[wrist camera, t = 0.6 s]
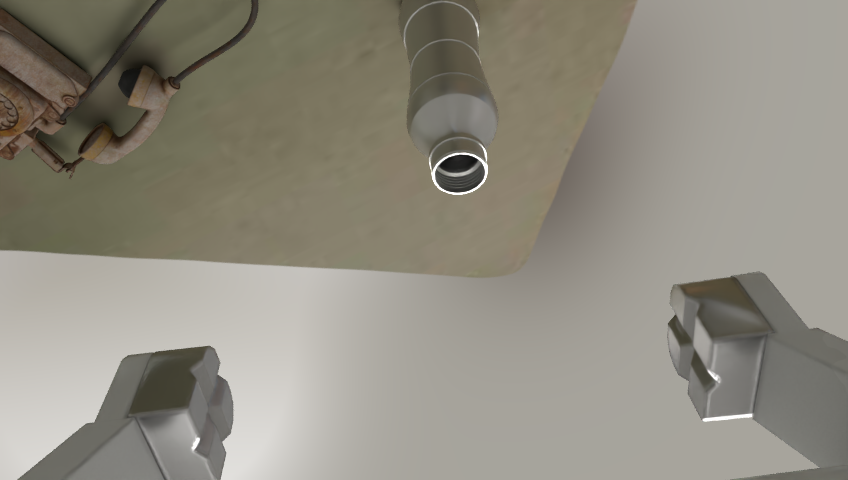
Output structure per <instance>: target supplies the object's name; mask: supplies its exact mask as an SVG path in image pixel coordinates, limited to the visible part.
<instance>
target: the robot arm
mask: <svg viewBox="0 0 848 480" xmlns="http://www.w3.org/2000/svg"><path fill="white" fill-rule="evenodd" d="M670 305H671V307H672V308H673V310H674V312H675V314H676V315H675V316H674V317H673V318H672V319H671V320H670V322H669V323H668V345H669V352H670V356H671V359H672V362H673V365H674V367H675V369H676V371H677V373H678V375H680V376H681V377H683V378H684V379H686V380H688V381H689V386H688V395H689V397H690V399H691V401H692V403H693V404H694V406H695V408H696V410H697V412H698V414H699V416H700V418H701V420H702V421H703V422H705V421H714V420H725V419H734V418H744V417H753V419H754V420H755V421H756V422H758V423H759V424H760V425H762V426H763V427H765V428H766V429H767V430H769V431H770V432H771V433H773V434H774V435H776V436H777V437H778V438H780V439H781V440H783V441H784V442H785V443H787V444H788V445H790V446H791V447H792V448H794V449H795V450H796V451H798V452H799V453H800V454H802V455H803V456H805V457H806V458H807V459H809V460H810V461H811V462H813V463H814V464H816V465H817V466H818V467H820V468H817V469H809V470H801V471H793V472H785V473H778V474H770V475H762V476H755V477H747V478H740V479H732V480H848V341H845V340H843V339H841V338H839V337H836V336H834V335H832V334H830V333H828V332H825V331H823V330H821V329H819V328H813V329H809V328H808V327H807V326H806V325H805V323H804V322H803V321H802V320H801V318H800V317H799V316H798V315H797V313H796V312H795V311H794V310H793V309H792V307H791V306H790V305H789V303H788V302H787V301H786V300H785V298H784V297H783V296H782V295H781V293H780V292H779V291H778V290H777V289H776V287H775V286H774V285H773V283H772V282H771V281H770V280H769V279H768V277H767V276H766V275H765V274H764V273H762V272H753V273H747V274H740V275H734V276H731V277H726V278H719V279H711V280H704V281H697V282H689V283H682V284H675V285H673V287H672V290H671V295H670ZM219 366H220V361H219V358H218V356H217V353H216V351H215V349H214V348H212V347H211V346H204V347H195V348H186V349H177V350H167V351H158V352H155V353H144V354H136V355H128V356H127V357H125V358H124V359H123V360H122V361H121V363H120V365H119V368H118V370H117V372H116V375H115V377H114V379H113V381H112V384H111V386H110V388H109V390H108V393H107V395H106V397H105V400H104V402H103V404H102V406H101V409H100V411H99V413H98V415H97V418H96V420H95V422H94V423H87V424H85V425H84V426H83V427H81V428H80V429H79V430H78V431H76V432H75V433H74V434H73V435H72V436H70V437H69V438H68V439H67V440H65V441H64V442H63V443H62V444H61V445H59V446H58V447H57V448H56V449H54V450H53V451H52V452H51V453H50V454H48V455H47V456H46V457H45V458H43V459H42V460H41V461H40V462H38V463H37V464H36V465H35V466H34V467H32V468H31V469H30V470H29V471H28V472H26V473H25V474H24V475H23V476H21V477H20V478H19V479H18V480H220V479H221V475H222V469H223V466H224V461H225V457H226V451H225V449H224V446H223V443H222V441H223V440H225V438H226V437H227V436H228V435H229V434H230V433H231V429H232V424H233V400H232V395H231V391H230V388H229V385H228V382H227V381H226V380H225V379H223V378H222V377H220V376H219V375H217V374H218V370H219Z"/></svg>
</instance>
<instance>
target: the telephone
mask: <svg viewBox="0 0 848 480" xmlns="http://www.w3.org/2000/svg"><path fill="white" fill-rule="evenodd" d="M165 1H166V0H157V1H156V2H155V3H154V4H153V5H152V6H151V8H150V9H149V10H148V11H147V12H146V14H145V15H144V16H143V17H142V19H141V20H140V21H139V23H138V24H137V25H136V26H135V28H134V29H133V30H132V32H131V33H130V34H129V36H128V37H127V38H126V40H125V41H124V42H123V44H122V45H121V46H120V47H119V49H118V50H117V51H116V53H115V54H114V55H113V57H112V58H111V59H110V60H109V62H108V63H107V64H106V66H105V67H104V68H103V69H102V70H101V72H100V73H99V74H98V75H97V76H96V78H95V79H94V80H93V81H92V82H91V83H90V81H91V79H92V77H91V76H90V75H89V74H87V73H86V72H85V71H83V70H82V69H81V68H79V67H78V66H77V65H75V64H74V63H73V62H71V61H70V60H69V59H68V58H66V57H65V56H64V55H62V54H61V53H60V52H58V51H57V50H56V49H54V48H53V47H52V46H50V45H49V44H48V43H47V42H45V41H44V40H43V39H41V38H40V37H39V36H37V35H36V34H35V33H33V32H32V31H31V30H29V29H28V28H27V27H26V26H24V25H23V24H22V23H20V22H19V21H18V20H16V19H15V18H14V17H12V16H11V15H10V14H8V13H7V12H6V11H4V10H3V9H1V8H0V156H1V157H3V158H5V159H7V160H12V159H13V158H14V157H15V156H16V155H17V154H18V153H20V152H21V151H22V150H23V149H24V148H25V147H27V146H30V147H31V148H32V151H33V152H34V153H35V154H36V155H37V156H39V157H40V158H41V159H42V160H43V161H44V162H45V163H46V164H47V165H49V166H50V167H51V168H52V169H53V170H54V171H55V172H57V173H59V172H61V171H63V170H64V169H67V170H66V172H69V171H72V173H71V175H70V177H69V179H71V177H72V175H73V173H74V171H75V166H76V165H77V164H79V163H80V162H81V161H82V160H84V159H87V160H89V161H93V162H96V163H100V164H112V163H115V162H116V161H118V160H119V159H120V158H122V157H123V156H125V155H126V154H128V153H129V152H131V151H133V150H134V149H135V148H137V147H138V146H139V145H140V144H142V143H143V142H144V141H145V140H146V139H147V138H148V137H149V136H150V135H151V134H152V132H153V131H154V130H155V128H156V127H157V126H158V124H159V123H160V121H161V120H162V118H163V116H164V114H165V112H166V110H167V107H168V104H169V101H170V98H171V96H172V95H173V94H174V93H176V92H177V91H178V90H179V88H180V83H179V82H180V81H181V80H183V79H184V78H185V77H186V76H187V75H189V74H190V73H192V72H193V71H195V70H196V69H197V68H199V67H201V66H202V65H204V64H205V63H207V62H209V61H210V60H212V59H214V58H215V57H217V56H219V55H220V54H222V53H224V52H225V51H227V50H228V49H230V48H231V47H233V46H234V45H235V44H237V43H238V42H239V41H240V40H241V39H242V38H244V37H245V36H246V34H247V33H248V32H249V31H250V29H251V28H252V26H253V25H254V23H255V20H256V18H257V13H258V0H251V1H252V9H251V14H250V17H249V19H248V22H247V23H246V25H245V27H244V28H243V29H242V30H241V31H240V32H239V33H238V34H237V35H236V36H235V37H234V38H233V39H231V40H230V41H229V42H227V43H226V44H224V45H223V46H221V47H219V48H218V49H216V50H215V51H213V52H211V53H210V54H208V55H206V56H205V57H203V58H201V59H200V60H198V61H197V62H195V63H194V64H192V65H191V66H189V67H188V68H186V69H185V70H184V71H182V72H181V73H180V74H179V75H178V76H177V77H172V76H171V77H168V78H167V79H166V80H165V79H163V78H162V77H161V76H160V75H159V74H157V73H156V72H155V71H154V70H153V69H151V68H149V67H148V66H146V65H143V67H142V69H129V70H126V71H124V72H123V73H122V75H121V78H120V80H119V83H118V85H119V88H120V89H121V91H122V92H123V94H124V95H125V96H126V97H128V98H129V100H128V102H127V104H128V105H130V106H133V107H137V108H144V109H147V110H146V112H145V113H144V114H143V116H142V117H141V119H140V120H139V121H138V122H137V124H136V125H135V126H134V127H133V128H132V129H131V130H130V131H129V132H128V133H127V134H125V135H124V136H122V137H118V136H117V135H116V134H115V133H114V132H113V130H112V129H110V128H109V127H108V126H107V125H106V124H105V123H101V124H99V125H98V126H96V127H95V128H94V129H93V130H92V131H91V132H90V133H89V134H88V136H87V137H86V138H85V139H84V141H83V142H82V144H81V146H80V148H79V150H78V155H79V156H81V157H80V158H79V159H78V160H76V161H74V162H73V163H66V164H64V163H65V161H64V160H63V159H62V158H61V157H60V156H59V155H58V154H57V153H55V152H54V151H53V150H52V149H51V148H50V147H49V146H48V145H47V144H46V143H45V142H43V141H41V140H39V139H38V138H36V137H35V136H36V134H37V133H38V131H39V129H40V130H41V131H43V132H44V133H46V134H54V133H55V132H57V131H58V130H59V129H60V128H61V127H62V126H64V125H65V124H66V119H65V118H66V117H67V116H68V115H69V114H70V113H71V112H73V111H74V110H75V109H76V108H77V107H78V106H79V105H80V104H81V103H82V102H83V101H84V100H85V99H86V98H87V97H88V95H89V94H90V93H91V92H92V91H93V90H94V89H95V88H96V87H97V86H98V84H99V83H100V82H101V81H102V80H103V79H104V77H105V76H106V75H107V74H108V73H109V71H110V70H111V69H112V68H113V66H114V65H115V64H116V63H117V61H118V60H119V59H120V58H121V56H122V55H123V54H124V52H125V51H126V50H127V48H128V47H129V46H130V45H131V43H132V42H133V41H134V39H135V38H136V37H137V35H138V34H139V33H140V32H141V30H142V29H143V28H144V26H145V25H146V24H147V23H148V21H149V20H150V19H151V18H152V16H153V15H154V14H155V13H156V12H157V10H158V9H159V8H160V7H161V6H162V5H163V4H164V2H165ZM89 83H90V85H89Z"/></svg>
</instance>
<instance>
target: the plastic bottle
mask: <svg viewBox="0 0 848 480" xmlns="http://www.w3.org/2000/svg"><path fill="white" fill-rule="evenodd" d="M399 29H400V34H401V37H402V41H403V43H404V45H405V48H406V50H407V54H408V58H409V63H410V93H409V100H408V108H407V129H408V133H409V135H410V137H411V139H412V141H413V143H414V145H415V146H416V148H417V149H418V150H419V151H420V152H421V153H422V154H423V155H425V156H426V157H427V158H429V165H430V168H431V172H432V178H433V181H434V183H435V185H436V186H437V187H438V188H439V189H440V190H442V191H444V192H446V193H450V194H466V193H469V192H472V191H474V190H476V189H477V188H478V187H480V186H481V185H482V184H483V182H484V181H485V179H486V177H487V170H488V169H487V162H486V160H487V154H486V149H487V148H488V146H489V145H490V144H491V142H492V141H493V139H494V136H495V134H496V129H497V125H498V118H499V117H498V109H497V106H496V102H495V99H494V96H493V94H492V92H491V90H490V87H489V85H488V83H487V80H486V78H485V76H484V72H483V69H482V65H481V61H480V58H479V46H478V37H479V29H480V16H479V10H478V6H477V4H476V2H475V0H403V1H402V5H401V9H400V14H399Z"/></svg>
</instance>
